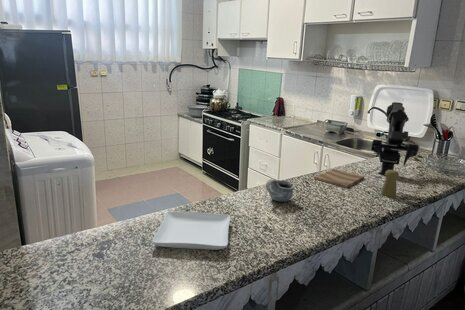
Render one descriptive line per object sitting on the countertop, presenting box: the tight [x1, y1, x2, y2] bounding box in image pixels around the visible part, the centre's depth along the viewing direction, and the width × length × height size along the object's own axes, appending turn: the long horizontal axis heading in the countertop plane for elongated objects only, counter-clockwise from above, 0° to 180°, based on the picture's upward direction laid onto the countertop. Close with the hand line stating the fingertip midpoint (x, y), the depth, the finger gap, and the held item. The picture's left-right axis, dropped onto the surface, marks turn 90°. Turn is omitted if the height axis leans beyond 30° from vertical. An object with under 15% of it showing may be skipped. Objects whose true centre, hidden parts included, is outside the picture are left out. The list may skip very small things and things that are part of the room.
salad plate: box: [151, 210, 231, 251], centre depth 104 cm, size 21×21×3 cm
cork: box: [380, 169, 400, 199], centre depth 145 cm, size 6×6×11 cm
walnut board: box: [314, 168, 365, 189], centre depth 165 cm, size 20×16×1 cm
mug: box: [265, 177, 295, 203], centre depth 133 cm, size 10×12×10 cm
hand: (392, 163), depth 149 cm, fingers open, 9 cm apart
